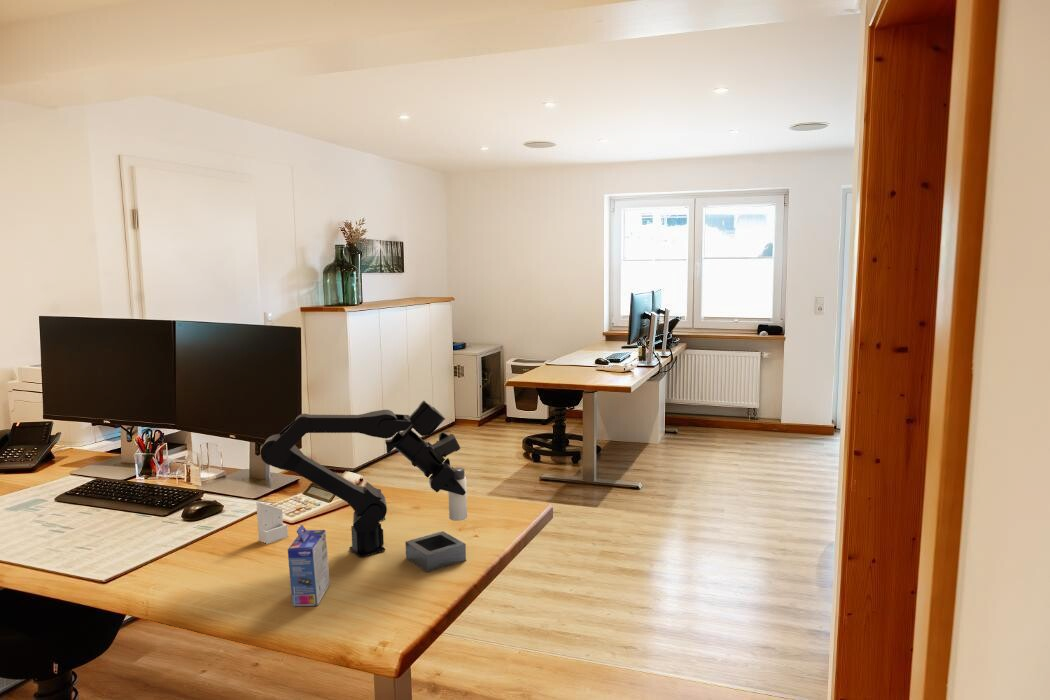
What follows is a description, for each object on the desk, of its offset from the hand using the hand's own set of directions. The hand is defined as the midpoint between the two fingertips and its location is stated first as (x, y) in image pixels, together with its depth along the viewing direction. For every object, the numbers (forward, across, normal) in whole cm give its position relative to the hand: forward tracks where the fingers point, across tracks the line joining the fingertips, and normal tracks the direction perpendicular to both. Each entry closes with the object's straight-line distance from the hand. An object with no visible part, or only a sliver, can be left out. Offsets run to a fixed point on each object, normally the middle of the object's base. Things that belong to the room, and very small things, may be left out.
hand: (463, 490), depth 168 cm
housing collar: (+3, -10, +15) cm, 18 cm away
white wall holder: (-24, +14, +42) cm, 50 cm away
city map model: (-4, +24, +23) cm, 33 cm away
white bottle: (+4, 0, +6) cm, 7 cm away
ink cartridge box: (-16, -20, +34) cm, 42 cm away
